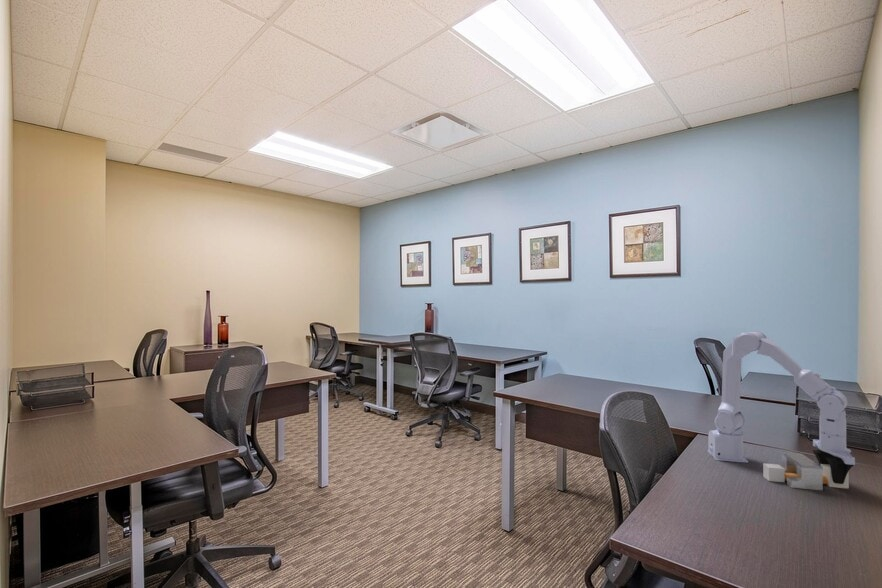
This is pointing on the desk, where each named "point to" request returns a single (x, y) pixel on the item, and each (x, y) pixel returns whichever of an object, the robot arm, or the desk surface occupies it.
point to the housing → (802, 471)
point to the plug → (778, 475)
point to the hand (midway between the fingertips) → (832, 479)
